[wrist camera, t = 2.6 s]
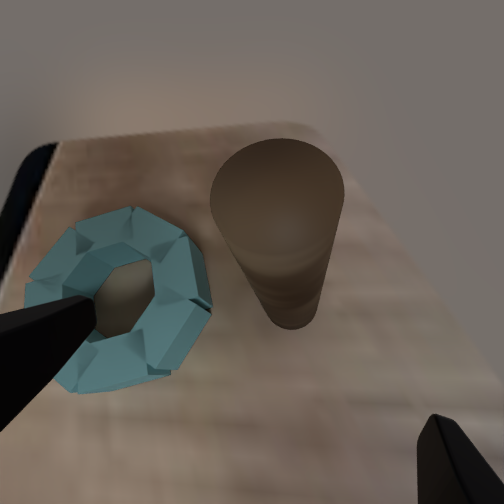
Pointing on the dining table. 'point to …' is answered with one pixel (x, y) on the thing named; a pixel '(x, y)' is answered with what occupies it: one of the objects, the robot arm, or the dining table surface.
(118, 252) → the bead
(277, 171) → the brown post
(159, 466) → the dining table surface
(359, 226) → the dining table surface
